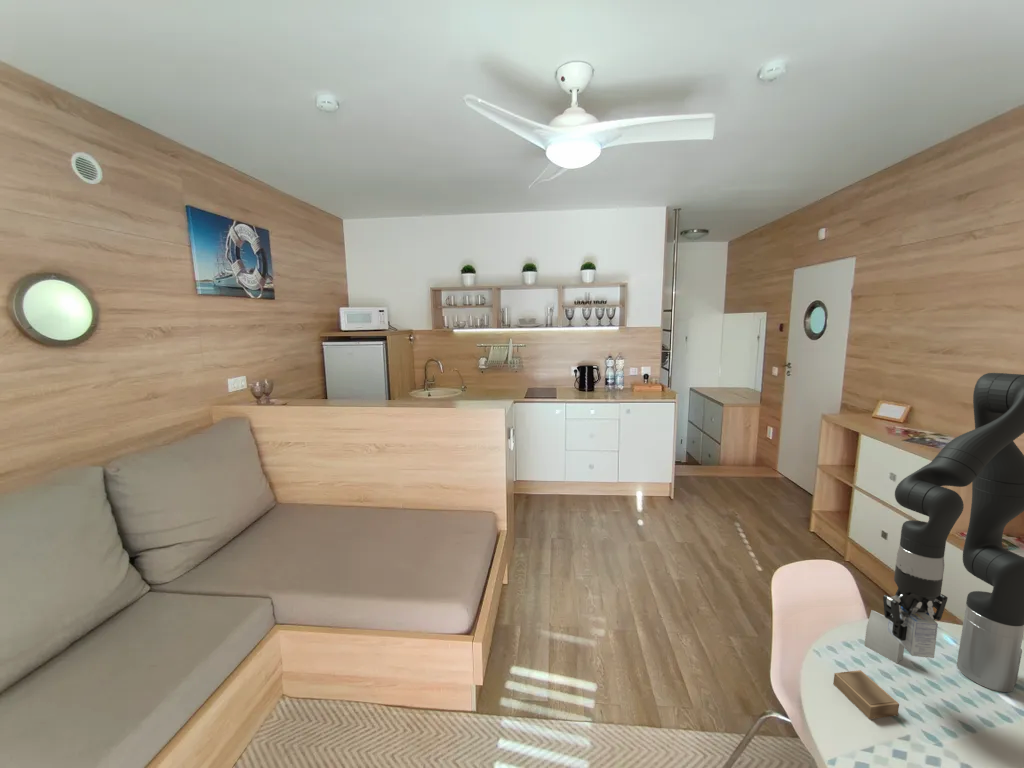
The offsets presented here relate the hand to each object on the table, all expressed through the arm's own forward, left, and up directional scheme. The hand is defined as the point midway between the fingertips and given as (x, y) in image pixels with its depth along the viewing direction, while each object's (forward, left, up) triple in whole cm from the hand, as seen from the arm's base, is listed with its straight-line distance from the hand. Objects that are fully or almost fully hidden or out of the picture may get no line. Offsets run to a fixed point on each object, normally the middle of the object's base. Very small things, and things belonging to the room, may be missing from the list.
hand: (910, 636), depth 94 cm
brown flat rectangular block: (+10, 0, -15) cm, 18 cm away
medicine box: (0, 0, -2) cm, 2 cm away
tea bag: (-8, -12, -16) cm, 21 cm away
